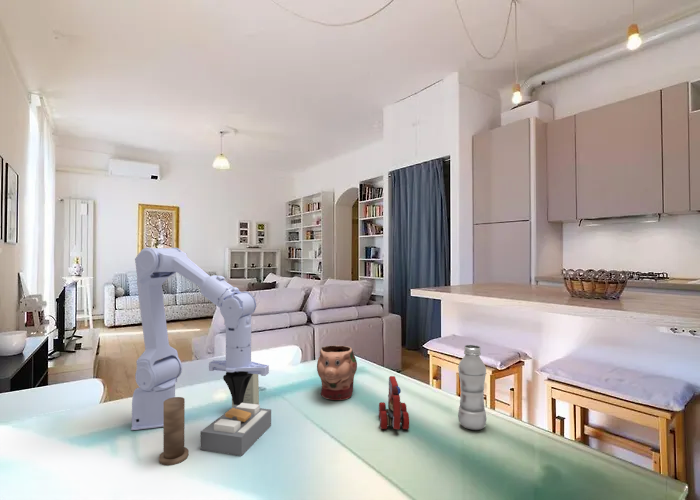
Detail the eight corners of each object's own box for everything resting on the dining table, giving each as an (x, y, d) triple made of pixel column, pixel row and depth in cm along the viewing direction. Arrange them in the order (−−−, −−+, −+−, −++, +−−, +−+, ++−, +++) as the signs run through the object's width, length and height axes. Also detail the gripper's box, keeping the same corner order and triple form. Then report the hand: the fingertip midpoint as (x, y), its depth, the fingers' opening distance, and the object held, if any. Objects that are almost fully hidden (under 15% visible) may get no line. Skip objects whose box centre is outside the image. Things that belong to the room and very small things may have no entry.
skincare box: (259, 408, 102) (259, 364, 102) (253, 415, 98) (253, 369, 98) (237, 407, 103) (237, 363, 103) (230, 414, 98) (230, 368, 98)
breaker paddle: (224, 419, 86) (225, 413, 86) (231, 413, 89) (232, 407, 89) (243, 425, 85) (244, 418, 85) (250, 419, 88) (251, 412, 88)
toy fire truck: (381, 436, 88) (381, 392, 88) (378, 412, 100) (378, 374, 100) (411, 436, 88) (411, 392, 87) (404, 413, 100) (404, 374, 100)
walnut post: (156, 467, 75) (156, 407, 75) (162, 452, 80) (162, 397, 80) (186, 463, 76) (186, 404, 76) (190, 448, 82) (190, 394, 82)
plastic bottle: (488, 435, 88) (489, 351, 88) (458, 432, 90) (459, 349, 89) (484, 422, 95) (484, 344, 94) (456, 419, 96) (457, 342, 96)
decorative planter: (321, 380, 124) (321, 338, 124) (357, 381, 123) (357, 339, 123) (312, 406, 104) (312, 356, 104) (356, 407, 103) (356, 357, 103)
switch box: (200, 449, 81) (200, 425, 81) (235, 420, 95) (235, 399, 95) (241, 456, 79) (241, 430, 79) (271, 425, 92) (271, 403, 92)
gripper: (200, 347, 85) (200, 406, 85) (258, 352, 81) (258, 414, 81) (218, 339, 91) (218, 394, 91) (272, 343, 88) (272, 401, 88)
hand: (238, 403), depth 87 cm, fingers closed
